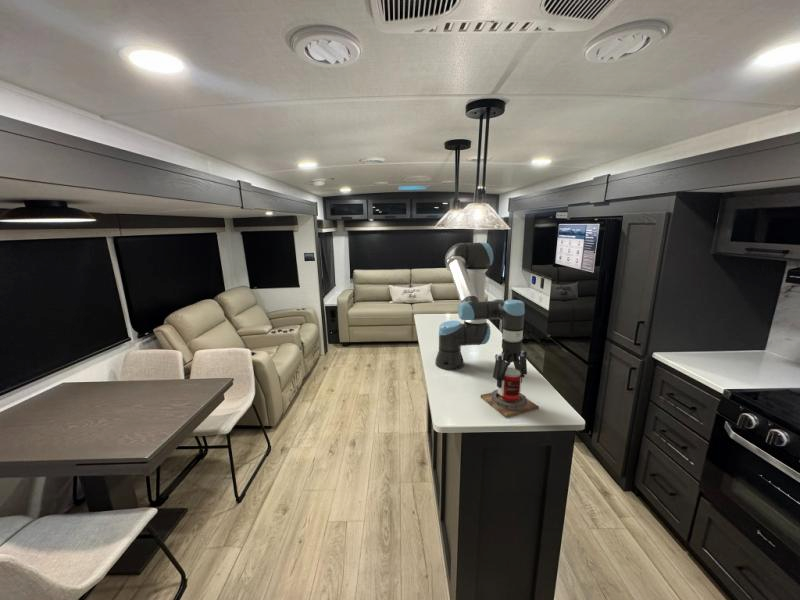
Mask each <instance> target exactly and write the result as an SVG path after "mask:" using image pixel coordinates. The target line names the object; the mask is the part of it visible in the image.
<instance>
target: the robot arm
mask: <svg viewBox="0 0 800 600" xmlns="http://www.w3.org/2000/svg"><path fill="white" fill-rule="evenodd" d="M444 257H445V258H444V265H445V267H446V269H447V271H448V272H449V273H450V275H451V279H452V281H453V284H454V287H455V290H456V293H457V296H458V299H459V304H458V307H457V314H458V318H459V319H460V320H462V321H463V323H462V322H461V321H459V320H448V321H444V322H442V323H441V324H440V325H439V326H438V327H439V328H438V351H437V354H436V357H435V360H434V361H435V366H436V367H438V368H440V369H442V370H443V369H444V370H448V371H451V370H459V369H461V368H463V367H464V365H465V363H464V358H463V354H462V352H461V350H462V349H461V348H462V347H463V346H480V345H485V344H487V343H488V342H489V340H490V338H491V327H490V324H489V323H488V322H487V320H502V333H501V335H502V336H501V337H502V339H501V349H502V352H501V353H500V354H495V358H494V359H495V361H494V362H495V363H494V366H493V367H494V369H493V372H492V373H493V374H492V378H493V379H495V380H496V387H497V390H498V394H500V395H501V396H504V380H503V378H504V375H505V373H506V370H507V368H509V366H510V365H511V363H513V366H514V369H517V370H519V371H520V373H521V378H520V390H521V386H522V383H523V378H524V377H526V375H527V373H528V371H527V369H528V368H527V367H528V366H527V365H528V364H527V355H528V352H527V351H525V350H522V349H523V338H524V336H523V335H524V334H523V333H524V322H525V313H526V311H525V302H524V301H522V300H518V299H506V300H504V299H501V298H500V299H499V298H496V299H493V300H489V301H487V300H486V301H485V289H486V288H485V287H486V286H485V285H486V273H487V271H488V270H489V266H492V265H493V262H494V252H493V248H492V246H491V244H490V243H487V242H460V243H456V244H454V245H452V246H451V247H450V248H449V249H448V250H447V252H446V253H445V256H444Z"/></svg>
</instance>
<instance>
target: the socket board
mask: <svg viewBox="0 0 800 600" xmlns="http://www.w3.org/2000/svg"><path fill="white" fill-rule="evenodd" d="M480 399H482V400H483V401H484V402H485V403H487V404H488V405H489V406H491V407H492V408H493V409H494V411H497V412H498V413H499V414H500V415H501V416H503V418H506V419H507V418H508V417H513V416H516V415H517V416H518V415H521V414H526V413H528V412H529V413H530V412H533V411H536V410H539V408H540V407H539V406H540V405H538V404H536V403H534V402H533V401H532V400H530V399H528V398H527V397H526V395H524V394H523V393H522V392H521V391H520V392H519V398H518V400H515V401H508V400H505V399H503V398H501V397H500V395H499V394H498V389H495V390H493V391H492V392H487V393H483V394H480Z"/></svg>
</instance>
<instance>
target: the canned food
mask: <svg viewBox="0 0 800 600" xmlns="http://www.w3.org/2000/svg"><path fill="white" fill-rule="evenodd" d="M520 378H521V373H520V371H519V370H517V369H515V367H514V368H513V367H508V368H507V370H506V373H505V375H504V378H503V380H504V396H501V395H500V394H499V395H500V397H501V398H503V399H505V400H508V401H515V400H518V398H519V392H520V393H521V389H520Z"/></svg>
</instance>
